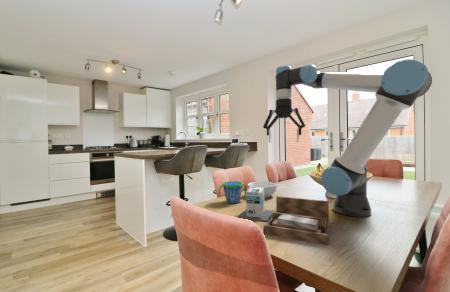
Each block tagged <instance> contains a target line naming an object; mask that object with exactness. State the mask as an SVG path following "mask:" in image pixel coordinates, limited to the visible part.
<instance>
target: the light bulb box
mask: <svg viewBox="0 0 450 292" xmlns="http://www.w3.org/2000/svg"><path fill="white" fill-rule="evenodd" d="M245 195H246V201H245V202H246V203H245V204H246V206H245V207H246V208H247V217H258V218H262V216H263V213H264V210H265V198H264V188H261V187H250V188H249V189H248V188H247V192H246V194H245ZM246 208H245V209H246Z"/></svg>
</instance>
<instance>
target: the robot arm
mask: <svg viewBox="0 0 450 292" xmlns="http://www.w3.org/2000/svg"><path fill="white" fill-rule="evenodd" d="M274 78H275V99H276V100H275V109H269V113H268V116H267V117H266V119H265V122H264V123H263V126H262V128H263V129H265V130H266V135H267V136H268V143H272V129H271V128H272V127H273V126H274V124H275V123H276V122H277V121H278V120H279V119H287V118H289V119H290V120H291V121H292V122H293V123H294V124H295V126H296V127H297V128H296V143H299V142H300V136H302V129H303V128H305V127H306V124H305V121H304V119H303V118H302V116H301V115H300V112H299V108H298V107H295V108H293V107H292V89H293V88H292V86H297V85H304V86H306V87H311V88H313V89H330V90H339V91H340V90H341V91H353V92H363V93H364V92H365V93H375V94H374V95H375V98H376V101H375V102H374V104H373V105H372V107H371V109H370V110H369V112H368V113H367V115H366V117H365V118H364V120H363V121H362V123H361V125H360V127H358V129H357V131H356V132H355V134H354V136H353V137H352V139H351V140H350V142H349V144H348V146H347V147H346V148H345V150H344V151H343V153H342V155H337V156H336V157H335V158H334V160H333V161H332V162H331V165H330V166H329V167H327V168H325V169H323V171H322V172H321V176H320V182H321V185H322V187H323V188H324V189H325V190H326V192H327V193H329V194H331V195H334V196H335V199H334V202H333V203H332V204H333V205H332V207H333V209H332V210H333V211H334V212H336V213H337V214H340V215H344V216H350V217H361V218H363V217H369V216H371V214H372V208H371V204H370V202H369V199H368V195H367V191H368V190H367V188H368V180H367V179H368V164H367V162H368V161H369V160H370V158H371V156H372V155H373V154H374V152H375V150H376V149H377V148H378V146H379V145H380V143H381V142H382V141H383V139H384V137H385V136H386V135H387V133H388V131H390V128H391V127H392V125H393V124H394V123H395V121H397V119H398V117H399V116H400V115H401V113H402V111H404V110H407V109H410V108H411V107H412V106H413V105H414V103H415V101H416V100H417V99H418V98H421V97H422V96H424V95H425V94H426V93H427V92H428V91H429V90H430V88H431V86H432V84H433V83H432V82H433V78H432V75H431V73H430V72H429V69H428V67H427V66H426V65H425V64H424V63H423V62H421V61H419V60H416V59H402V60H398V61H396V62H395V61H394V62H393V63H392V64H391V65H389V66H388V67H387V68H386V69H385V70H384V72H383V73H366V72H364V73H363V72H336V71H335V72H333V71H331V72H330V71H329V72H328V71H318V69H317V68H316V65H314V64H306V65H303V66H300V67H296V68H292V67H291V66H289V65H284V66H283V65H281V66H278V67H277V68H276V69H275V77H274ZM293 112H294V113H295V115H296V117H297V118H298V120H299V122H300V124H299V122H298V121H297V120H296V118H294V117H293V116H292V113H293ZM275 114H276V115H275ZM273 115H275V116H274V118H273V119H272V117H273ZM271 119H272V120H271ZM270 121H271V122H270Z"/></svg>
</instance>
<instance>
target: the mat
mask: <svg viewBox="0 0 450 292" xmlns="http://www.w3.org/2000/svg"><path fill="white" fill-rule="evenodd" d="M272 212H276V210H270V209H264V213H263V216H262V218H258V217H247V208H245V209H244V210H243V211H242V212H241V213H240V214H238V216H237V218H238V217H240V218H239V219H244V218H245V220H251V221H260V222H266V223H268V221H269V220H270V219H271V217H272Z"/></svg>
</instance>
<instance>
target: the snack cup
mask: <svg viewBox="0 0 450 292" xmlns="http://www.w3.org/2000/svg"><path fill="white" fill-rule="evenodd" d="M243 186H244V195H246V192H247V190H248V186H247V185H246V184H245V183H243V182H242V181H238V180H237V181H236V180H235V181H234V180H233V181H230V180H229V181H224V182H223V183H222V184H220V186H219V188H218V191H217V194H218V197H219V198H221V189H222V188H223V192H224V196H225V201H226V203H228V204H239V203H240V202H241V196H242V189H243Z"/></svg>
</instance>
